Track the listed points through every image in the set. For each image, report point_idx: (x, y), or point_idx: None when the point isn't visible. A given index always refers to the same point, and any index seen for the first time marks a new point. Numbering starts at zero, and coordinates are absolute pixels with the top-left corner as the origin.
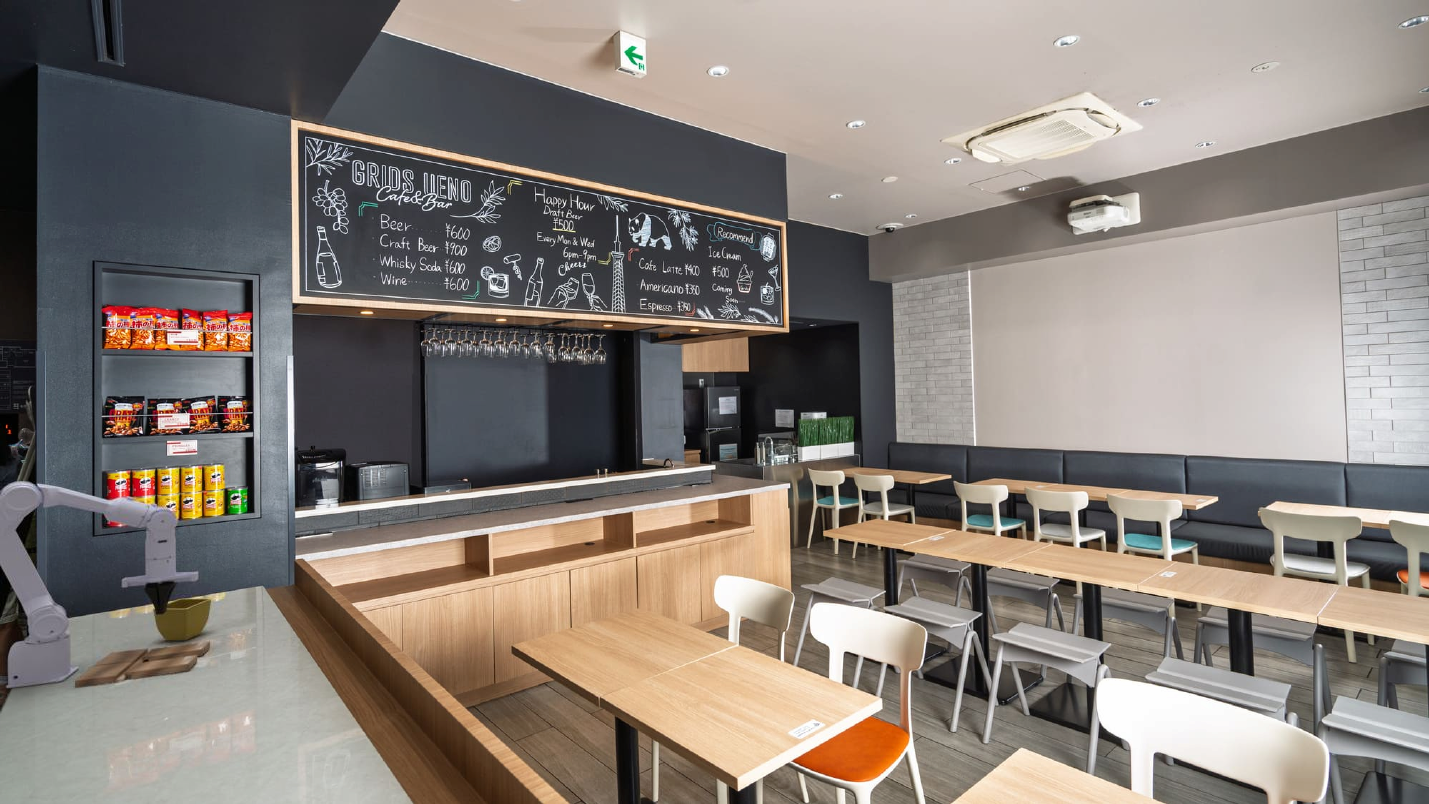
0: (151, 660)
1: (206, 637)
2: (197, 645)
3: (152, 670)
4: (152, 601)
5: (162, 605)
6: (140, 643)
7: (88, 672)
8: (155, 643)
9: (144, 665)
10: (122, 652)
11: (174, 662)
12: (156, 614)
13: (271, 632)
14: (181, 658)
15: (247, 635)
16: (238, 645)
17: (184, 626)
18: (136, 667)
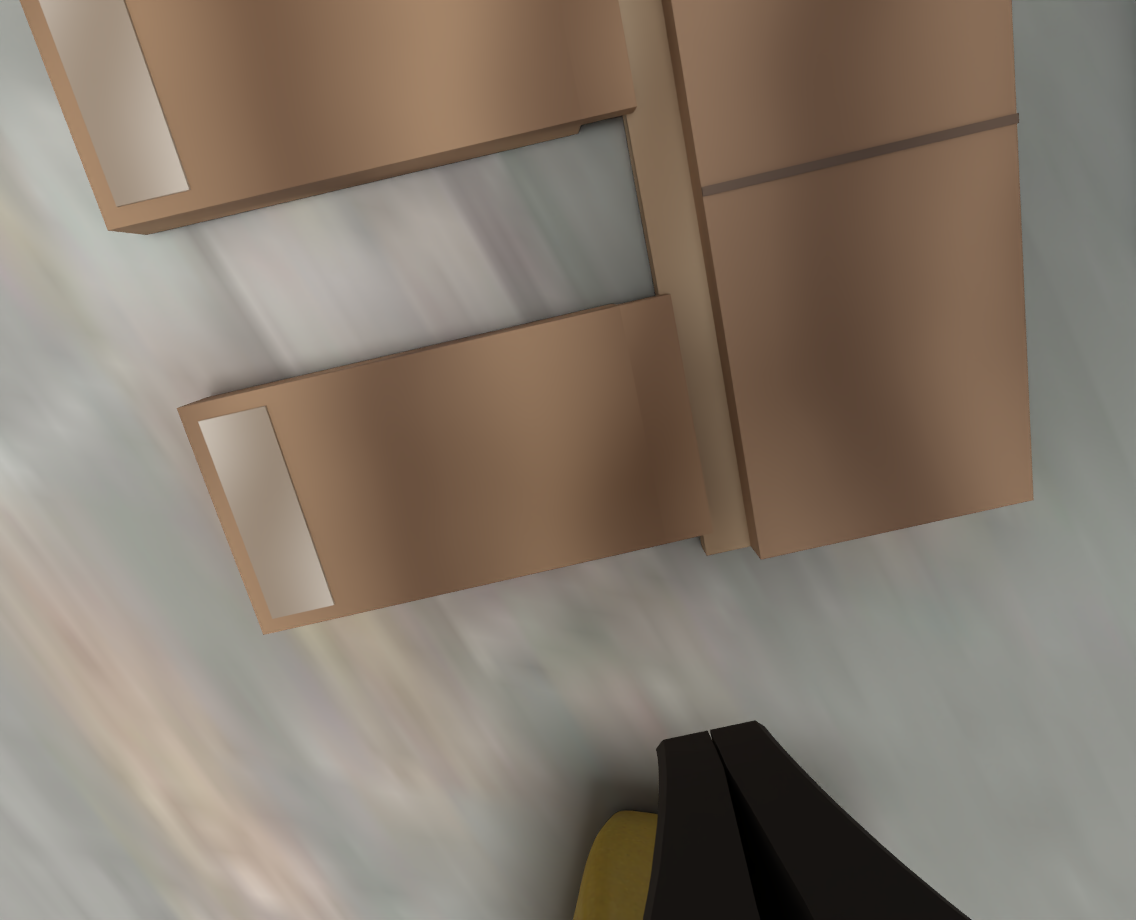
0: (591, 309)
1: (490, 860)
2: (307, 533)
3: None
4: (946, 913)
5: (682, 851)
6: (941, 806)
7: None
8: (824, 788)
9: (494, 4)
10: (934, 484)
11: (204, 22)
12: (757, 722)
13: (8, 897)
14: (213, 151)
15: (170, 858)
16: (73, 633)
17: (601, 879)
18: None
